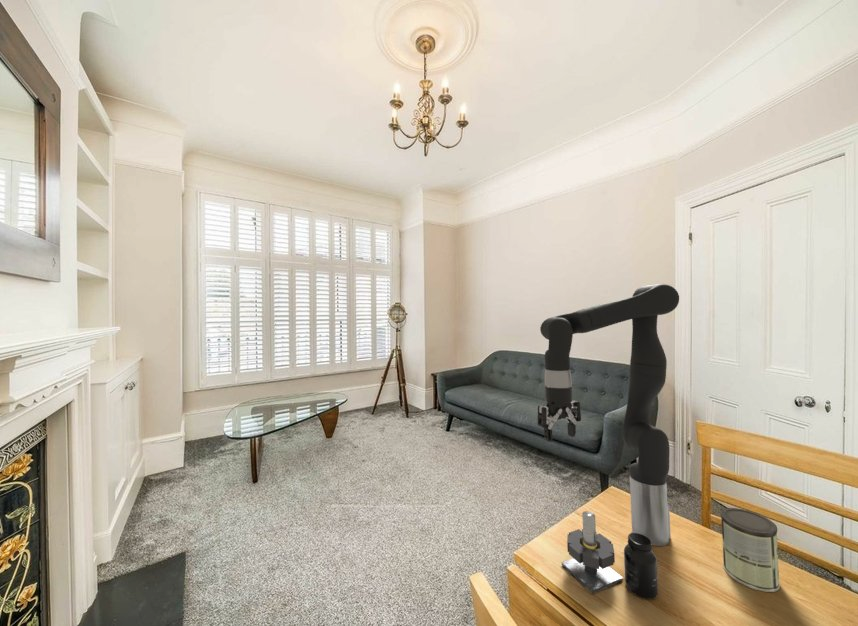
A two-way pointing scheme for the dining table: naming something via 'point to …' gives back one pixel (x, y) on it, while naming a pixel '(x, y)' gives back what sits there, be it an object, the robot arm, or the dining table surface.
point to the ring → (591, 557)
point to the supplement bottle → (640, 567)
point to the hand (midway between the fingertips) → (560, 438)
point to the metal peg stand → (589, 575)
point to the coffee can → (750, 549)
